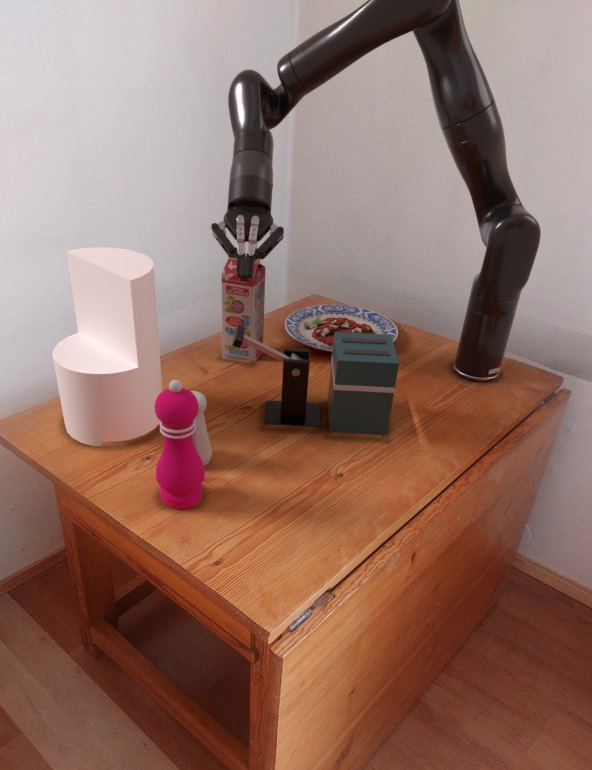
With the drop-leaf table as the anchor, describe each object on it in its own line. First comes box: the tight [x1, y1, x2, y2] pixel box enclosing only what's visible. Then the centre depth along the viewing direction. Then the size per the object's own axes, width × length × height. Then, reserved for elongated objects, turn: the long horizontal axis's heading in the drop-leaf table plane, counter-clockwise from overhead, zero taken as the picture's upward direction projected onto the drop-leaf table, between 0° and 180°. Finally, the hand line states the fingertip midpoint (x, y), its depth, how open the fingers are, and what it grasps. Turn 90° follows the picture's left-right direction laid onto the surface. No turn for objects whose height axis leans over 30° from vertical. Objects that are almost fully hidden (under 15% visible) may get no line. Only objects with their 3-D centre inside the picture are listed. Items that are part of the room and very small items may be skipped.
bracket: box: [263, 347, 322, 428], centre depth 112 cm, size 10×8×13 cm
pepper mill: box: [155, 379, 206, 510], centre depth 91 cm, size 7×7×20 cm
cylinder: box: [52, 246, 164, 448], centre depth 105 cm, size 17×17×28 cm
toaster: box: [327, 332, 400, 436], centre depth 112 cm, size 10×11×15 cm
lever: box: [232, 324, 306, 363], centre depth 108 cm, size 13×6×2 cm, turn 90°
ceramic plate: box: [284, 304, 399, 353], centre depth 145 cm, size 26×26×3 cm
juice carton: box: [221, 252, 266, 362], centre depth 130 cm, size 7×7×22 cm
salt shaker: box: [190, 390, 213, 467], centre depth 100 cm, size 6×6×13 cm
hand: (244, 279), depth 107 cm, fingers closed
